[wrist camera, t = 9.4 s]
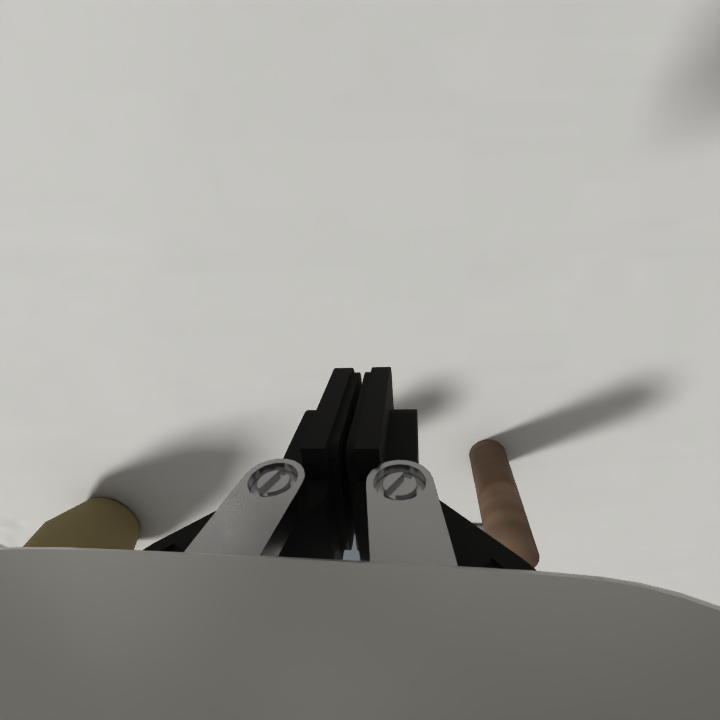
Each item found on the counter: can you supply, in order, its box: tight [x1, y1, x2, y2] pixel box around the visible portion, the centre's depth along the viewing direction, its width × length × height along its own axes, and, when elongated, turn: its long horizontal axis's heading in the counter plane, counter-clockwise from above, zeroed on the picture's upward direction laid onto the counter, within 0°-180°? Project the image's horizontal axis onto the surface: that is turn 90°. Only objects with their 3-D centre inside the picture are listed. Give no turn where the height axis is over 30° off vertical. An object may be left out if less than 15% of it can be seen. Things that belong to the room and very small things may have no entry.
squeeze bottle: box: [23, 498, 140, 550], centre depth 30 cm, size 8×8×18 cm
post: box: [469, 440, 539, 568], centre depth 26 cm, size 3×3×9 cm
